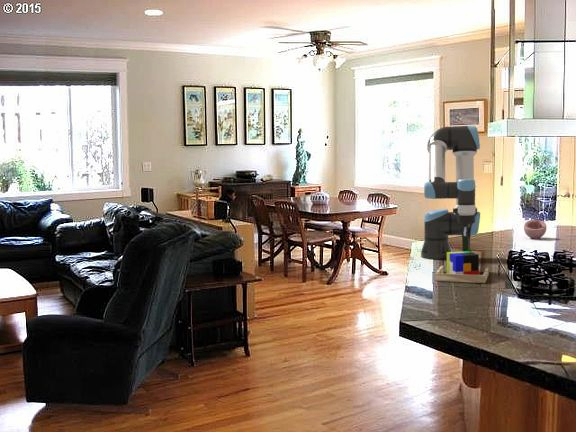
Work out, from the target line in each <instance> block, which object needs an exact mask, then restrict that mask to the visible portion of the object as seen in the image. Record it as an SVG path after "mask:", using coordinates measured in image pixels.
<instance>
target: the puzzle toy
mask: <svg viewBox="0 0 576 432" xmlns="http://www.w3.org/2000/svg"><path fill="white" fill-rule="evenodd" d="M479 256H480V255H479V254H478V253H476V252H473V251H471V252H470V251H462V250H461V251H452V252H447V258H446V274H468V275H480V273H479V272H480V271H479V270H480V269H479V266H480V265H479V263H480V262H479V261H480V260H479V259H480V258H479Z"/></svg>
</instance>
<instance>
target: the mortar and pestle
mask: <svg viewBox="0 0 576 432" xmlns="http://www.w3.org/2000/svg"><path fill="white" fill-rule="evenodd" d="M523 231H524V233H525V235H526V236H527V237H529V238H530V239H535V240H537V239H540V238H542V237H543V236H544V235H546V231H547V224H546V222H544V221H543V220H539V219H537V218H534V219H530V220H528V221H526V222H525V223H524V226H523Z"/></svg>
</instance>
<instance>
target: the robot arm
mask: <svg viewBox="0 0 576 432" xmlns="http://www.w3.org/2000/svg"><path fill="white" fill-rule="evenodd" d="M480 145H481V144H480V135H479V129H478V128H477V126H475V125H458V126H457V125H455V126H453V125H452V126H443V127H440V128H438V129H437V130H436V131H434V132H433V133H432V134H431V136H430V137H429V139H428V141H427V148H426V149H427V152H428V153H429V155H428V156H429V157H428V158H429V160H428V182H425V183H424V185H423V186H424V187H423V188H424V189H423V191H424V192H423V193H424V194H423V195H424V198H425V199H431V200H438V199H439V200H441V199H443V200H445V199H454V200H455V206H453V208H452V211H449V209H447V208H445V209H444V208H439V209H433V210H429V211H426V212H425V213H424V220H423V222H424V226H423V227H424V229H423V230H424V231H423V232H424V236H423V237H424V241H423V245H422V248H421V250H420V251H421V252H420V257H422V258H425V259H429V260H430V259H433V260H434V259H435V260H439V259H441V260H442V259H447V252H453V251H452V248H451V245H450V242H449V236H450V237H451V236H456V237H457V236H458V237H459V236H460V237H461V241H462V242H461V243H462V250H461V251H470V252H472V250H471V236H476V235H477V234H478V233H479V228H480V221H481V212H480V211H478V208H477V207H476V187H477V186H476V181H475V176H474V175H475V168H474V167H475V165H474V163H475V162H474V160H475V158H474V156H476V154H477V153H478V151H479V150H480V148H481V147H480ZM447 151H452V155H453V156H454V157H455V181H446V153H447Z"/></svg>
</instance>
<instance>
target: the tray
mask: <svg viewBox="0 0 576 432" xmlns="http://www.w3.org/2000/svg"><path fill="white" fill-rule="evenodd" d="M444 267H445V266H444V265H440V266H439V267H438V269H437V270H436V271H435V272H434V281H437V282H456V283H479V284H486V282H487V279H488V277H489V274H490V273H489V271H490V270H489V269H490V268H489V267H485V270H484V271H483V273H482V274H479V275H468V274H447V273H446V272H445V273H444V271H445V270H444V269H445V268H444Z"/></svg>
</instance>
